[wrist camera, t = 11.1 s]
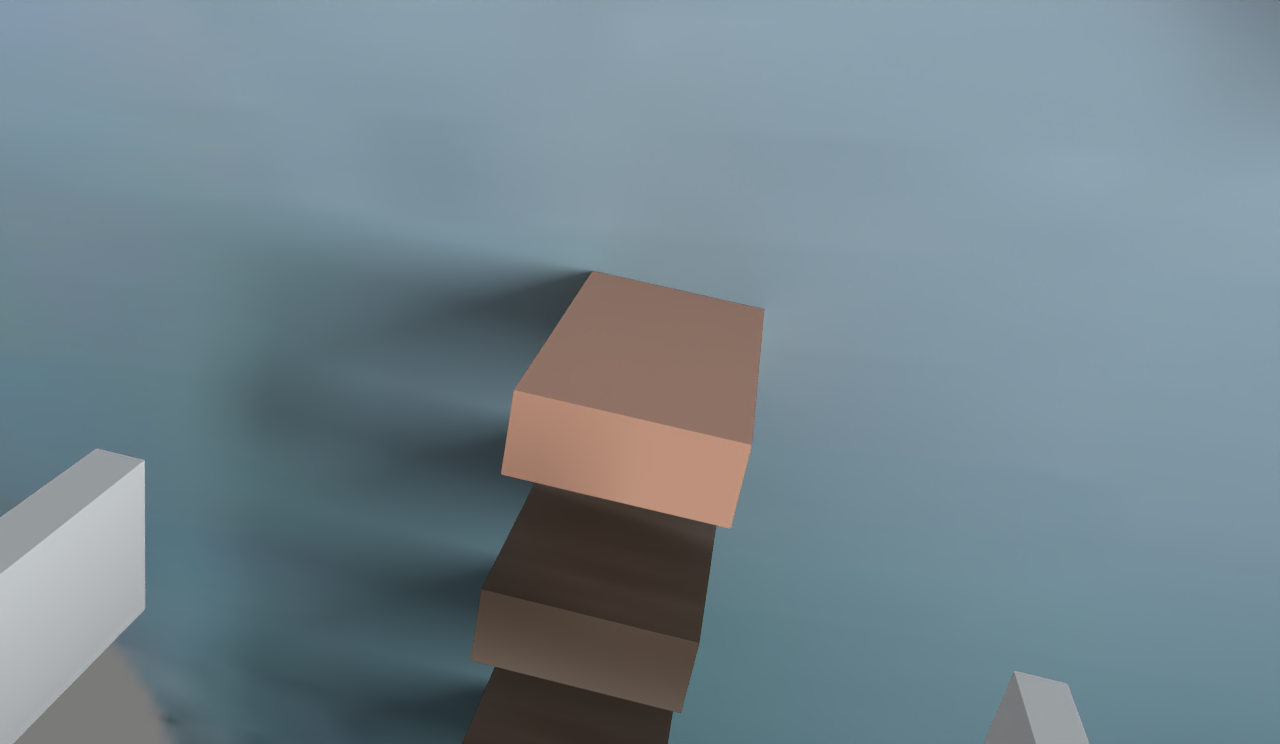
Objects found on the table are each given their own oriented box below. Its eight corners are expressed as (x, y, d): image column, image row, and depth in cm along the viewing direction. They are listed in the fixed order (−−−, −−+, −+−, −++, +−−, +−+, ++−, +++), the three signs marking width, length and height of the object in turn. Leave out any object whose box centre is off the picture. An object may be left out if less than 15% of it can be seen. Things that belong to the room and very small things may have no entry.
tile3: (678, 649, 34) (641, 870, 26) (530, 612, 34) (446, 819, 26) (691, 598, 33) (656, 810, 25) (539, 561, 34) (455, 758, 25)
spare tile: (748, 373, 30) (730, 528, 22) (581, 335, 31) (501, 474, 22) (764, 309, 29) (752, 444, 21) (592, 270, 30) (514, 389, 21)
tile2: (711, 519, 32) (681, 713, 24) (554, 481, 32) (470, 660, 24) (725, 462, 31) (699, 643, 23) (564, 424, 32) (481, 589, 23)
